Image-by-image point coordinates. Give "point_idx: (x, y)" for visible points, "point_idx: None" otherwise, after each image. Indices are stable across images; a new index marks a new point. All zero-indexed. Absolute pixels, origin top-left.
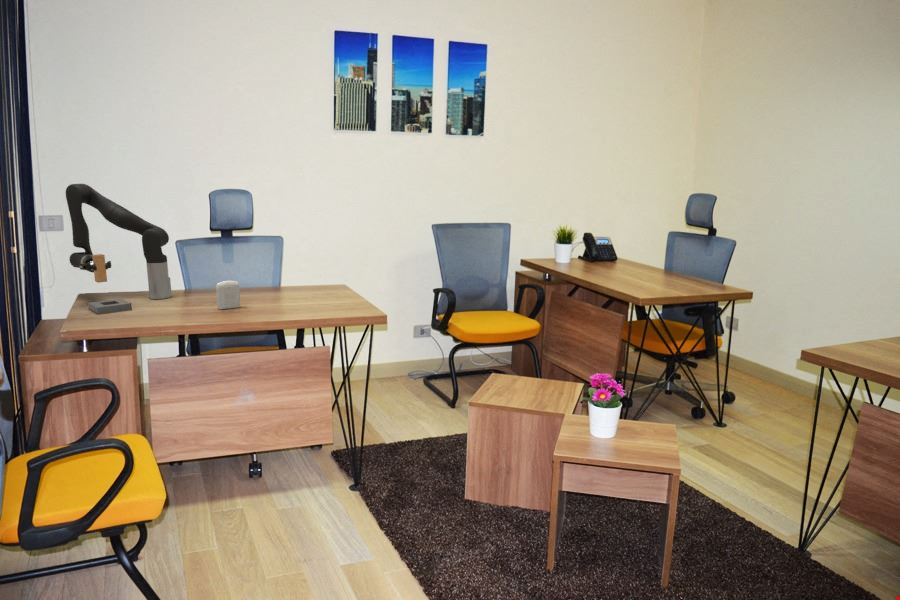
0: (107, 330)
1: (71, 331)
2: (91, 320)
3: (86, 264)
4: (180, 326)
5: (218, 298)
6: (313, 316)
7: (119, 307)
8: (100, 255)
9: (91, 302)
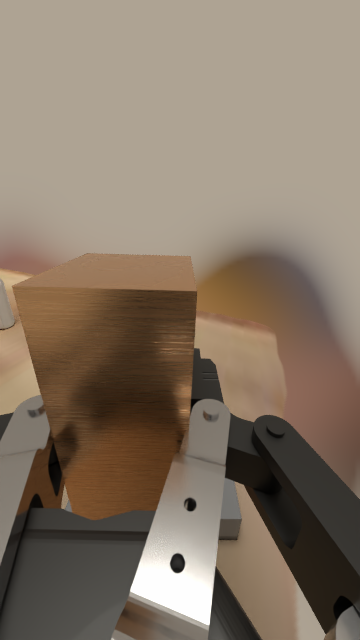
0: (217, 316)
1: (269, 330)
2: (236, 368)
3: (284, 426)
4: None
5: (8, 303)
6: (14, 278)
7: None
8: (128, 255)
9: (225, 514)
